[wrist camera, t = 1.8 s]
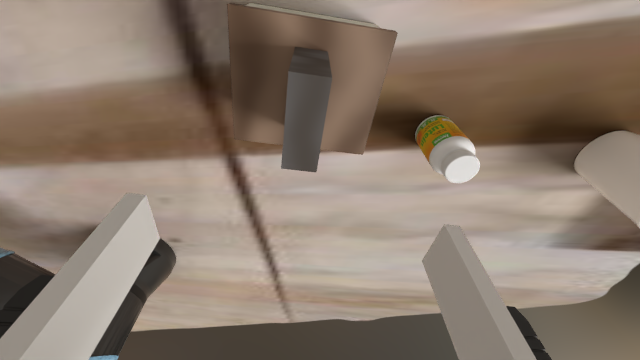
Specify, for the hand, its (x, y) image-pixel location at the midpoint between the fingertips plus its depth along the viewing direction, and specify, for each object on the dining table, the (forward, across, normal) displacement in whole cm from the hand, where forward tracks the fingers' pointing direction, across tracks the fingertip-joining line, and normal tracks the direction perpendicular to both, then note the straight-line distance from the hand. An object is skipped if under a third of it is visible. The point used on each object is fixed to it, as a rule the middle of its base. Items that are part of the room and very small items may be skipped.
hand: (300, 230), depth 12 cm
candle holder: (+27, +47, -6) cm, 54 cm away
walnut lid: (+20, 0, 0) cm, 20 cm away
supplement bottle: (+27, +19, -6) cm, 33 cm away
